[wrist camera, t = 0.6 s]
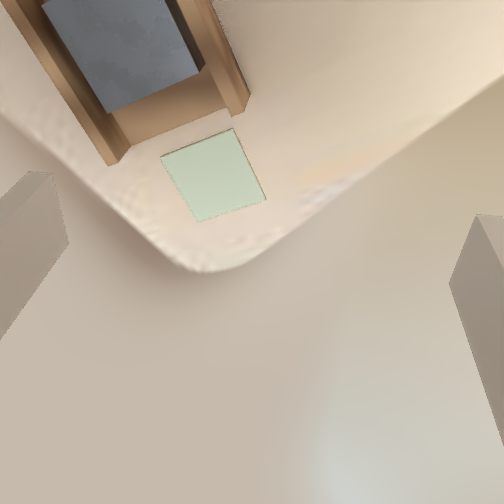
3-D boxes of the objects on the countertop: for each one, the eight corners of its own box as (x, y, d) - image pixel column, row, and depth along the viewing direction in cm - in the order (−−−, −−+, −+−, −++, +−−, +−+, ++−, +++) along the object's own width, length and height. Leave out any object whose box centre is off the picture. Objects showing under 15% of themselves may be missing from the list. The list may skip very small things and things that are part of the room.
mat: (160, 156, 41) (159, 157, 41) (232, 128, 39) (232, 129, 38) (198, 220, 44) (197, 222, 44) (266, 198, 42) (265, 200, 42)
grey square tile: (56, -1, 34) (41, 5, 32) (150, -54, 31) (139, -51, 29) (118, 103, 38) (107, 113, 36) (205, 63, 35) (199, 72, 33)
